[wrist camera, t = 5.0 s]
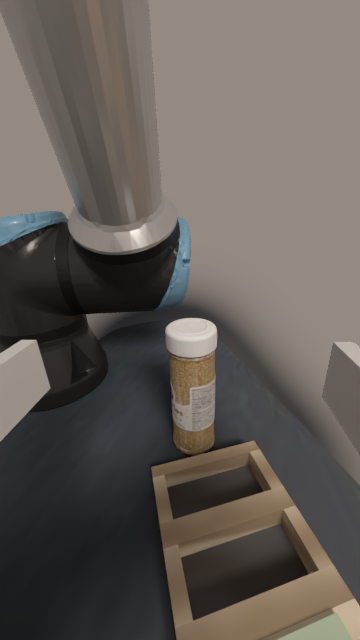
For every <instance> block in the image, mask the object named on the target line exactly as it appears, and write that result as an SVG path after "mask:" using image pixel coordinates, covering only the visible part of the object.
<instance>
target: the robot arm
mask: <svg viewBox="0 0 360 640" xmlns="http://www.w3.org/2000/svg"><path fill="white" fill-rule="evenodd" d="M0 12H1V14H2V17H3V19H4V22H5V25H6V27H7V30H8V32H9V35H10V37H11V40H12V43H13V45H14V48H15V50H16V53H17V55H18V58H19V60H20V63H21V66H22V68H23V71H24V74H25V76H26V79H27V81H28V84H29V86H30V89H31V92H32V94H33V97H34V99H35V102H36V105H37V107H38V110H39V112H40V115H41V118H42V120H43V122H44V125H45V128H46V130H47V133H48V135H49V138H50V141H51V143H52V146H53V148H54V151H55V154H56V156H57V159H58V161H59V164H60V167H61V169H62V172H63V174H64V177H65V180H66V182H67V185H68V187H69V190H70V192H71V195H72V198H73V200H74V203H75V207H74V208H73V210H72V212H71V213H70V216H69V219H67V218H66V216H65V215H64V214H63V213H62V212H58V211H49V212H37V213H31V214H20V215H13V216H7V217H1V218H0V441H1V440H2V439H3V438H4V437H5V436H6V435H7V434H8V433H9V432H10V431H11V430H12V429H13V428H14V427H15V425H16V424H17V423H18V422H19V421H20V420H21V419H22V418H23V417H24V416H25V415H26V414H27V413H28V412H34V411H43V410H48V409H52V408H56V407H60V406H63V405H65V404H68V403H70V402H73V401H75V400H77V399H79V398H81V397H83V396H84V395H86V394H88V393H89V392H91V391H92V390H93V389H94V388H96V387H97V386H98V385H99V384H100V383H101V382H102V381H103V379H104V378H105V376H106V374H107V371H108V363H107V358H106V354H105V351H104V350H103V348H102V346H101V345H100V343H99V342H98V340H97V338H96V337H95V335H94V334H93V332H92V331H91V329H90V327H89V325H88V323H87V318H86V314H94V313H114V312H115V313H116V312H138V311H158V310H160V309H167V308H174V307H177V306H178V305H180V304H181V303H182V301H183V300H184V298H185V295H186V291H187V287H188V281H189V272H190V266H189V262H190V255H191V238H190V230H189V225H188V222H187V221H186V220H185V219H183V218H180V217H177V209H176V207H175V205H174V204H173V202H172V201H171V200H170V199H169V198H168V197H167V196H166V195H164V194H163V193H162V190H161V175H160V161H159V146H158V134H157V118H156V104H155V90H154V77H153V76H154V75H153V62H152V48H151V34H150V19H149V4H148V0H0ZM322 397H323V399H324V401H325V402H326V404H327V405H328V407H329V408H330V410H331V411H332V413H333V414H334V416H335V417H336V419H337V420H338V422H339V424H340V425H341V426H342V428H343V430H344V431H345V433H346V434H347V436H348V438H349V439H350V441H351V442H352V444H353V445H354V446H355V448H356V450H357V451H358V453H359V455H360V347H359V346H358V345H356V344H355V343H354V342H333V346H332V351H331V356H330V361H329V365H328V370H327V375H326V380H325V385H324V389H323V395H322Z"/></svg>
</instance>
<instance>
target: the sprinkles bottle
mask: <svg viewBox="0 0 360 640" xmlns="http://www.w3.org/2000/svg"><path fill="white" fill-rule="evenodd" d="M165 335H166V347H167V349H168V351H169V360H170V376H171V378H170V384H171V399H172V417H173V425H174V433H173V440H174V443H175V445H176V447H177V448H178V449H179V450H181V452H183V453H186V454H188V455H200V454H203V453H205V452H207V451H208V450H210V449H211V447H212V446H213V444H214V440H215V434H214V417H215V349H216V347H217V329H216V326H215V325H214V324H213V323H212V322H210V321H208V320H205V319H200V318H185V319H180V320H176V321H174V322H172V323H170V324H169V325H168V326H167V327H166V330H165Z"/></svg>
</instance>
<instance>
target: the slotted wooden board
mask: <svg viewBox="0 0 360 640" xmlns="http://www.w3.org/2000/svg"><path fill="white" fill-rule="evenodd" d="M151 470H152V477H153V485H154V491H155V498H156V505H157V512H158V518H159V525H160V532H161V539H162V546H163V552H164V559H165V566H166V573H167V579H168V586H169V593H170V600H171V606H172V613H173V620H174V627H175V633H176V640H360V606H359V605H358V603H357V601H356V600H355V598H354V597H353V595H352V594H351V592H350V590H349V589H348V587H347V586H346V584H345V583H344V581H343V579H342V578H341V576H340V575H339V573H338V572H337V570H336V568H335V567H334V565H333V564H332V562H331V561H330V559H329V558H328V556H327V554H326V553H325V551H324V550H323V548H322V547H321V545H320V543H319V542H318V540H317V539H316V537H315V536H314V534H313V532H312V531H311V529H310V528H309V526H308V525H307V523H306V521H305V520H304V518H303V517H302V515H301V514H300V512H299V510H298V509H297V507H296V506H295V504H294V503H293V501H292V499H291V498H290V496H289V495H288V493H287V492H286V490H285V488H284V487H283V485H282V484H281V482H280V481H279V479H278V477H277V476H276V474H275V473H274V471H273V470H272V468H271V466H270V465H269V463H268V462H267V460H266V459H265V457H264V455H263V454H262V452H261V451H260V449H259V448H258V446H257V445H256V443H255V441H251V442H247V443H243V444H239V445H235V446H231V447H227V448H224V449H220V450H216V451H212V452H208V453H204V454H200V455H196V456H193V457H189V458H185V459H181V460H177V461H173V462H169V463H165V464H162V465H158V466H154V467H151Z"/></svg>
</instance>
